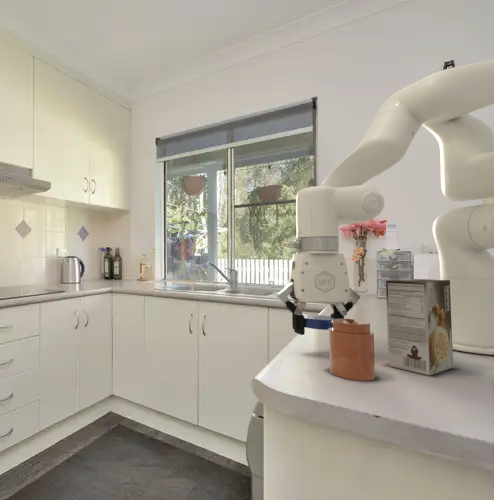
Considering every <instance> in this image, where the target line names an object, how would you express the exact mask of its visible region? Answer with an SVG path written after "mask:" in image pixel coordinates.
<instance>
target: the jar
mask: <svg viewBox="0 0 494 500" xmlns="http://www.w3.org/2000/svg"><path fill="white" fill-rule="evenodd" d="M331 323H332V328H329V330H328V338H329V340H328V341H329V342H328V343H329V345H328V346H329V347H328V348H329V372H330V373H331V374H332V375H334V376H337V377H339V378H342V379H347V380H352V381H359V382H360V381H361V382H370V381H373V380H375V379H376V361H375V359H376V357H375V332H374V331H371V323H370V322H369V321H366V320H363V319H362V320H361V319H353V318H344V319H333V320H332V322H331Z"/></svg>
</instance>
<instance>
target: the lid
mask: <svg viewBox="0 0 494 500" xmlns="http://www.w3.org/2000/svg"><path fill="white" fill-rule="evenodd" d="M303 315H304V319H305V329H312V330H321V331H329V328H332V323H331V322H332V320H333V319H337V318H335V317H331V315H321V314H303Z"/></svg>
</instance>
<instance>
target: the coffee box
mask: <svg viewBox="0 0 494 500" xmlns="http://www.w3.org/2000/svg"><path fill="white" fill-rule="evenodd" d="M385 290H386V291H385V292H386V293H385V295H386V296H385V297H386V322H387V323H386V325H387V354H388V355H387V356H388V366H389V367H391V368H395V369H401V370H404V371H409V372H413V373H418V374H421V375H425V376H433V375H435V374H439V373H442V372H444V371H447V370H451V369H453V368H454V357H453V355H454V353H453V352H454V350H453V349H452V323H451V299H450V280H440V279H426V278H425V279H424V278H405V279H403V278H402V279H401V278H400V279H387V280H385Z"/></svg>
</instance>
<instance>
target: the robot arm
mask: <svg viewBox="0 0 494 500" xmlns="http://www.w3.org/2000/svg"><path fill="white" fill-rule="evenodd" d="M492 105H494V59H490V60H489V59H488V60H483V61H479V62H474V63H470V64H469V63H467V64H464V65H459V66H455V67H450V68H446V69H442V70H438V71H436V72H433V73H431V74H429V75H426V76H424V77H423V78H421V79H419V80H417V81H415V82H413V83H411V84H409V85H407V86H405V87H403V88H401V89H399V90H397V91H395V92H394V93H392V94H391V95H390V96H388V97H387V98H386V99H385V101H384V102H383V103H382V105H381V106H380V108H379V109H378V112H377V114H376V115H375V117H374V118H373V120H372V121H371V124H370V125H369V127H368V129H367V131H365V134H364V136H363V138H362V139H361V141H360V142H359V144H358V145H357V146H356V147H355V148H354V149H353V150H352V151H351V152H350V153H348V155H346V156H345V157H344V158H343V160H342V161H340V162H339V163H338V164H337V165H336V166H335V167H334V168H333V169H332V170H331V171H330V172H329V173H328V174H327V175H326V177H325V178H324V179H323V181H322V182H321V184H320V185H315V186H309V187H304V188H302V189H300V190H298V192H297V193H296V199H295V208H296V209H295V213H296V216H295V217H296V218H295V220H296V221H295V222H296V238H295V240H293V241H290V242H289V247H290V249H295V252H296V253H293V256H292V259H291V264H290V271H289V282H288V284H287V285H286V286H284V287H283V288H282V289H281V290H280V291H279V292H277V293H276V298H277V299H278V300H279V301H280V302H281V303H282V304H283V306H284V307H285V308H286V309H288V311H289V312H290V313H292V315H291V316H292V317H291V319H292V321H291V323H292V330H293V331H294V333H296V334H298V335H300V336H304V335H305V334H306V333H305V329H306V327H305V319H304V315H305V314H303V311H304V310H305V307H306V305H307V304H329V306H330V308H331V310H332V313H331V314H330V317H335V318H337V319H345V317H346V316H347V315H348V312H349V311H350V310H351V309H352V308H354V305H355V304H357V302H358V301H359V300H360V299H361V296H360V295H359V294H358V293H357V292H356V291H354V290H353V289H352V288H351V287H350V280H349V271H348V267H347V266H348V265H347V261H346V258H345V255H344V253H340V245H339V244H340V240H339V235H340V234H339V230H340V229H339V226H341V225H342V226H343V225H352V224H360V223H365V222H369V221H371V220H373V219H375V218H376V217H378V216H379V215H381V213H382V212H383V210H384V207H385V198H384V196H383V194H382V193H381V191H379V190H378V189H377V188H374V187H373V186H369V185H364V184H365V183H366V182H368V181H370V180H371V179H373V178H375V177H377V176H379V175H380V174H382V173H384V172H386V171H387V170H389V169H390V168H392V167H393V166H395V165H396V164H398V163H399V162H400V161H401V160H402V159H403V158H404V157H405V155H406V153H407V151H408V149H409V148H410V145H411V144H412V142H413V140H414V139H415V137H416V135H417V133H418V132H419V130H420V128H421V126H422V127H423V128H425V129H426V130H427V131H429V132H430V134H432V135H433V137H434V138H435V139H436V141H437V143H438V146H439V154H440V156H439V159H440V160H439V161H440V188H441V192H442V195H443V196H444V197H445V198H446V199H447V200H449V201H452V202H469V201H476V200H477V201H478V200H484V199H485V200H486V199H490V198H494V131H493V130H492V128H491V127H490V126H489V125H488V124H487V123H485V122H484V121H483V120H481V119H479V118H477V117H475V116H474V115H471V114H470V113H472V112H475V111H478V110H481V109H483V108H487V107H489V106H492ZM432 235H433V239H434V242H435V246H436V249H437V253H438V254H437V255H438V263H439V280H450V299H451V323H452V350H453V351H458V352H464V353H471V354H480V355H488V356H489V355H490V356H494V256H493V255H492V254H491V253H490V251H488V250H490V249H494V202H493V203H487V204H486V203H484V204H476V205H469V206H462V207H456V208H451V209H449V210H446V211H444V212H442V213H440V214H439V215H437V217H436V218H435V220H434V221H433V223H432ZM288 296H289V297H290V299H292V300H293V301H291V300H290V299H289V297H288Z"/></svg>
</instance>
